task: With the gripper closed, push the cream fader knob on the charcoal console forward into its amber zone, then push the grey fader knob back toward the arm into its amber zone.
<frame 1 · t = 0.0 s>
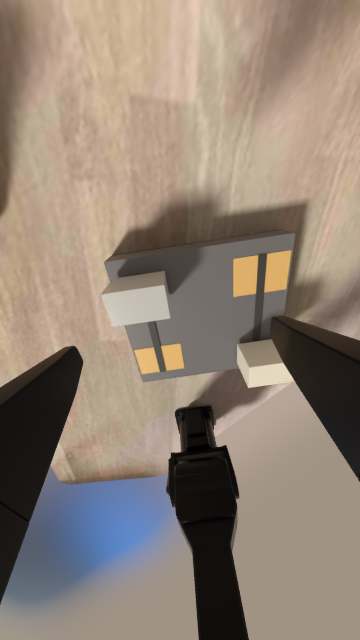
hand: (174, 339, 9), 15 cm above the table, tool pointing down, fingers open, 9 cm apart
grey fader: (139, 297, 18), point 6 cm above the table, slide at 5.0 cm
cream fader: (264, 361, 22), point 6 cm above the table, slide at -5.0 cm
console: (201, 309, 25), on the table
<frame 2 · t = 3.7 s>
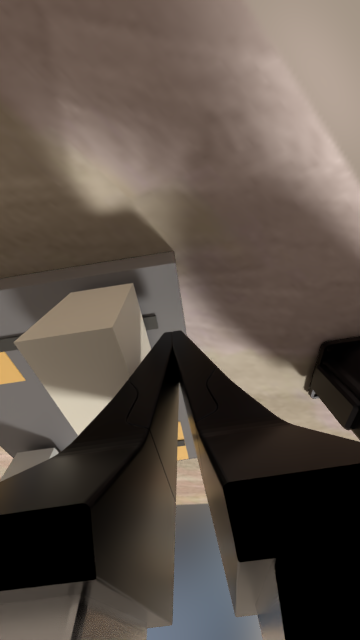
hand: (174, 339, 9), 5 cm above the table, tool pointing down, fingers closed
grey fader: (36, 495, 15), point 5 cm above the table, slide at 5.0 cm
cream fader: (107, 355, 9), point 5 cm above the table, slide at -4.4 cm, touching gripper
console: (96, 375, 17), on the table
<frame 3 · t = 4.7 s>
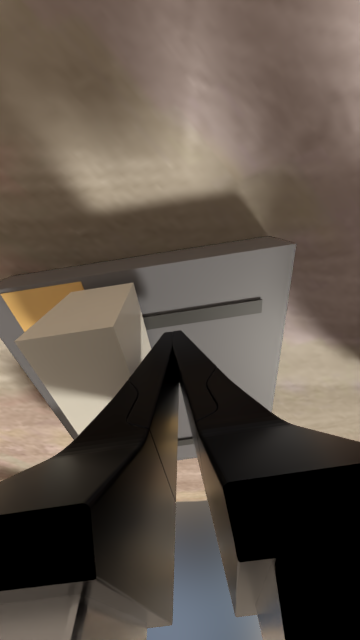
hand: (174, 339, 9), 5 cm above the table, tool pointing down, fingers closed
cream fader: (107, 355, 9), point 6 cm above the table, slide at 1.4 cm, touching gripper
console: (164, 365, 17), on the table
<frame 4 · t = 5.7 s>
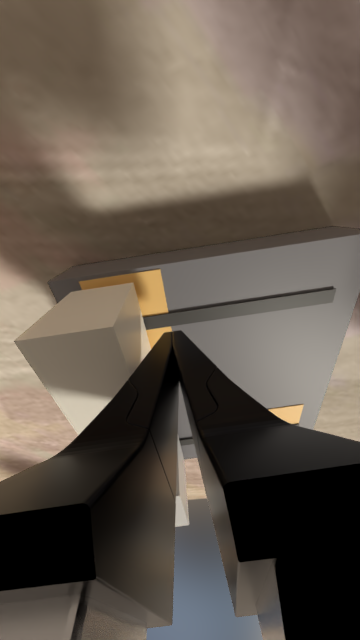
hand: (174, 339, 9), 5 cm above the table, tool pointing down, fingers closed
grey fader: (162, 478, 15), point 6 cm above the table, slide at 5.0 cm
cream fader: (107, 355, 9), point 5 cm above the table, slide at 5.3 cm, touching gripper
console: (210, 358, 16), on the table
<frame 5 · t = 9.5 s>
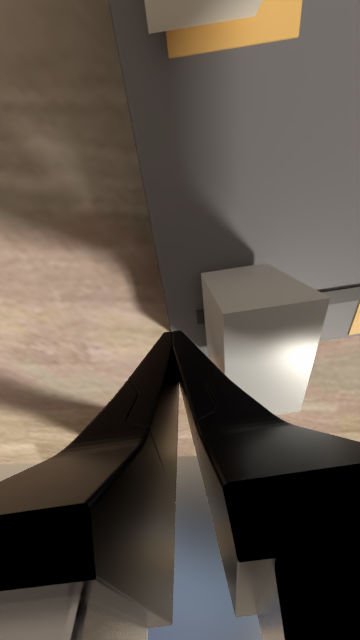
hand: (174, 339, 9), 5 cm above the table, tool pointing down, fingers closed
grey fader: (247, 337, 8), point 5 cm above the table, slide at 4.6 cm, touching gripper
console: (301, 170, 10), on the table
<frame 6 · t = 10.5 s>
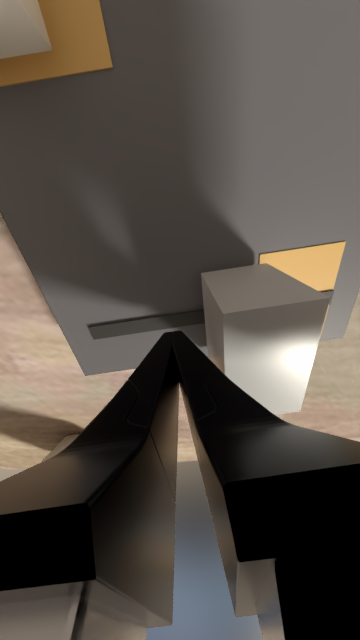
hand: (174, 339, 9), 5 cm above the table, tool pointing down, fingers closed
grey fader: (247, 337, 8), point 5 cm above the table, slide at -1.1 cm, touching gripper
console: (192, 187, 10), on the table
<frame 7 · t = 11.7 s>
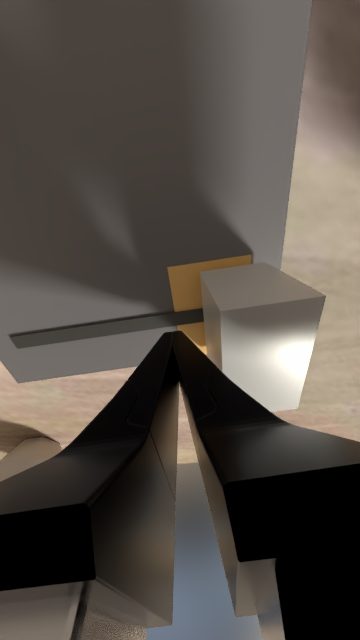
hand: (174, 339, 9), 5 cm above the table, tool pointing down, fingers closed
grey fader: (245, 336, 9), point 5 cm above the table, slide at -5.5 cm, touching gripper
salt shaker: (43, 445, 21), on the table
console: (110, 199, 10), on the table
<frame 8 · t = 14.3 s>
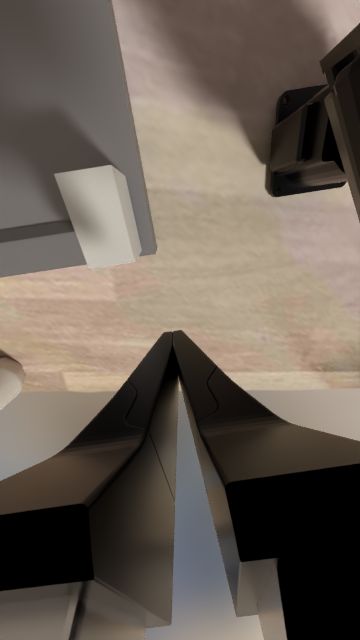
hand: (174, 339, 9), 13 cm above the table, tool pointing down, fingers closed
grey fader: (107, 220, 13), point 6 cm above the table, slide at -5.5 cm
salt shaker: (8, 367, 26), on the table
console: (30, 140, 15), on the table
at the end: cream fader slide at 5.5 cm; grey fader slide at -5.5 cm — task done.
